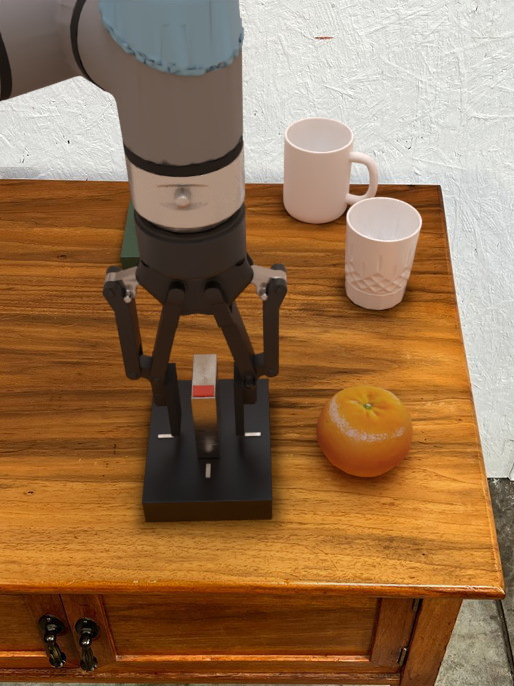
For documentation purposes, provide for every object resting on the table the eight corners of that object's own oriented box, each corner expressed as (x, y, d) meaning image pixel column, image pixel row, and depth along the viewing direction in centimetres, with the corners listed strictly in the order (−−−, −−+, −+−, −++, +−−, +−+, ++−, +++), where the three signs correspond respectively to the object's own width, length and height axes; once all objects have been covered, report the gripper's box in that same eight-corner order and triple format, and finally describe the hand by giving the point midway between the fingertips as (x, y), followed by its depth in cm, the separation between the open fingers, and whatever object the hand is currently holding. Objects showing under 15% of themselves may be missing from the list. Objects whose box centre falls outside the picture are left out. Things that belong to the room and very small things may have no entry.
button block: (132, 211, 98) (128, 184, 96) (211, 210, 99) (209, 183, 96) (122, 272, 90) (117, 244, 87) (208, 270, 91) (206, 243, 88)
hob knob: (199, 414, 72) (193, 352, 66) (221, 414, 72) (216, 351, 66) (197, 458, 68) (190, 396, 62) (220, 457, 68) (215, 395, 62)
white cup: (337, 310, 86) (343, 237, 79) (342, 266, 91) (349, 193, 84) (408, 317, 85) (421, 244, 78) (410, 272, 91) (422, 200, 84)
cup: (297, 182, 103) (299, 111, 96) (383, 203, 100) (392, 131, 93) (272, 215, 98) (273, 143, 91) (362, 239, 95) (371, 166, 88)
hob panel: (157, 400, 77) (154, 379, 74) (268, 398, 77) (268, 377, 75) (145, 522, 67) (141, 501, 65) (272, 519, 68) (272, 498, 65)
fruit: (427, 397, 73) (393, 365, 66) (423, 486, 70) (387, 461, 63) (346, 405, 77) (307, 375, 71) (339, 489, 74) (298, 465, 68)
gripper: (43, 238, 49) (101, 460, 66) (327, 235, 49) (312, 456, 66) (62, 172, 54) (111, 394, 71) (319, 170, 55) (307, 390, 72)
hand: (208, 423), depth 69 cm, fingers open, 5 cm apart
